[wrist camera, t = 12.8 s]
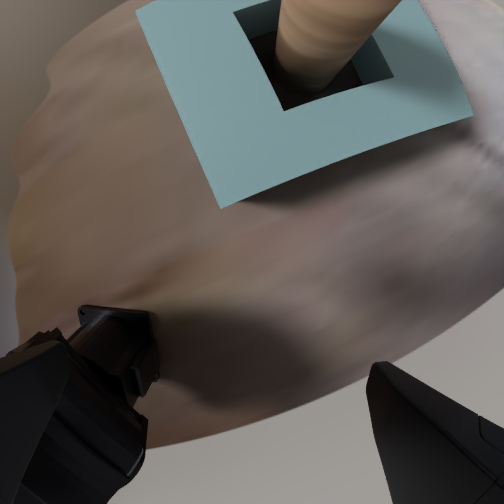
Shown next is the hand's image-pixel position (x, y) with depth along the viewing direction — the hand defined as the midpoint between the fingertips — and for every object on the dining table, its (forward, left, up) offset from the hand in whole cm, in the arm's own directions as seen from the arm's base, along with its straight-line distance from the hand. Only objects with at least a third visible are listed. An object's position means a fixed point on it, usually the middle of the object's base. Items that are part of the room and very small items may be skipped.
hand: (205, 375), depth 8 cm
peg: (+4, +12, -13) cm, 18 cm away
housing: (+4, +12, -13) cm, 18 cm away
